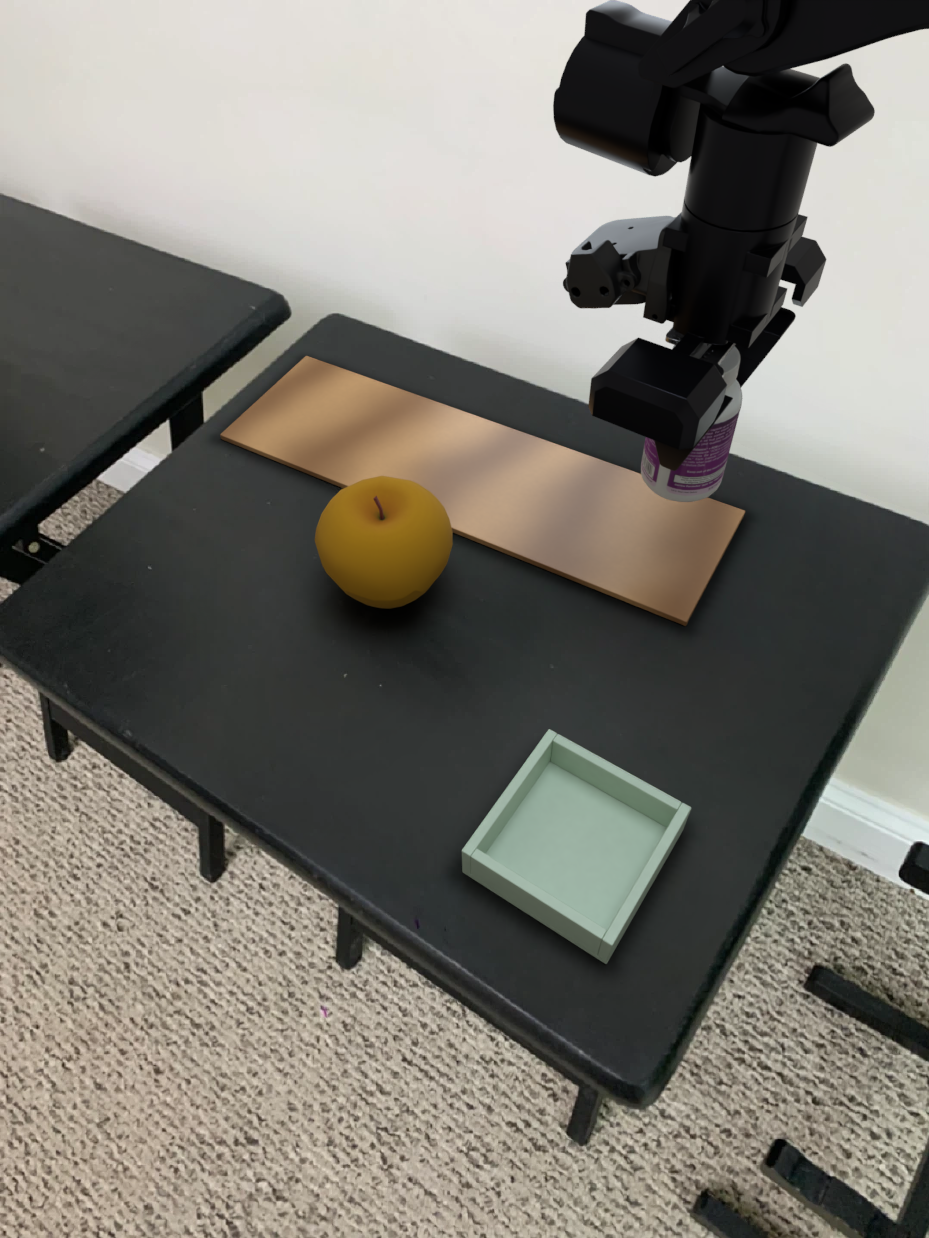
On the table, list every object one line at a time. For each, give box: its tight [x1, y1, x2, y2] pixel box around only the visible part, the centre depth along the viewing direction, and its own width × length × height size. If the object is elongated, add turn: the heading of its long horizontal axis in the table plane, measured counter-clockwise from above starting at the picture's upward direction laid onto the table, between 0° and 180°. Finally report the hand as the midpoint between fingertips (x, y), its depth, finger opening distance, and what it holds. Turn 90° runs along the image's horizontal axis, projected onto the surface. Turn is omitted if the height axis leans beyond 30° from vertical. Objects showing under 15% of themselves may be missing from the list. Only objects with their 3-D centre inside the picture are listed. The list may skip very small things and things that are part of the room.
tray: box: [461, 728, 692, 965], centre depth 52 cm, size 9×9×3 cm
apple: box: [314, 476, 454, 610], centre depth 61 cm, size 9×9×9 cm
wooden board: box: [219, 355, 746, 627], centre depth 72 cm, size 40×12×1 cm, turn 60°
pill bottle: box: [640, 345, 743, 502], centre depth 57 cm, size 5×5×10 cm
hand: (688, 441), depth 59 cm, fingers closed on pill bottle, 5 cm apart
